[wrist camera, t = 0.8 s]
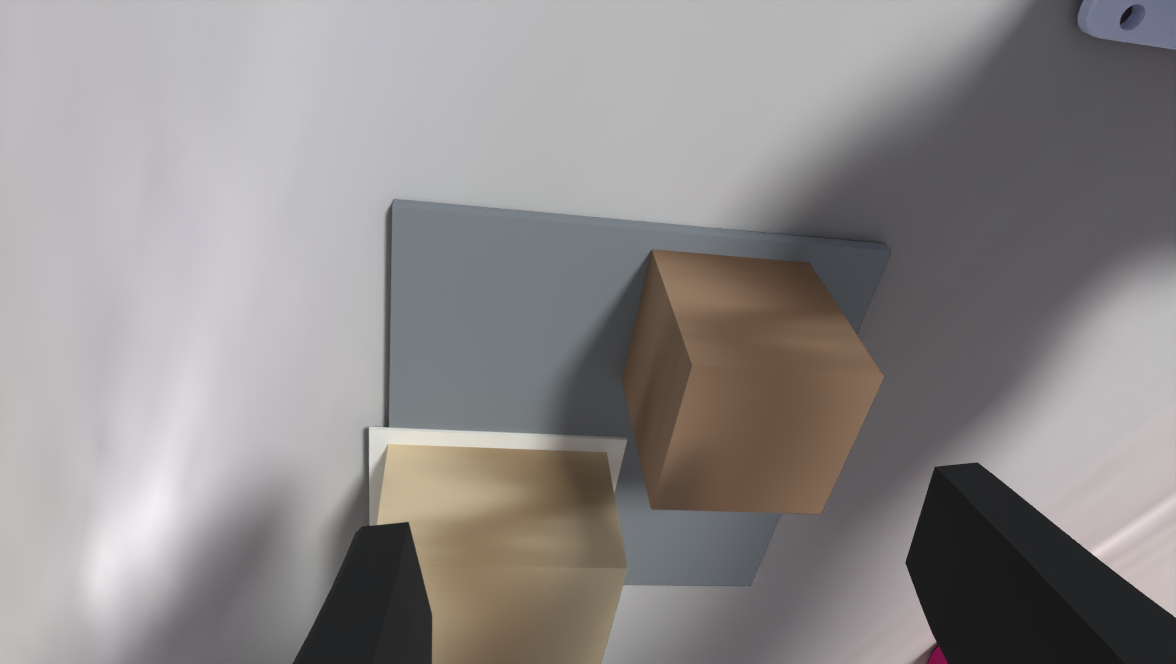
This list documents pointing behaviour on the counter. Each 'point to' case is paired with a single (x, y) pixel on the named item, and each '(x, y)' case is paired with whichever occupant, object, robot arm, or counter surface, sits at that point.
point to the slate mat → (566, 354)
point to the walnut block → (743, 384)
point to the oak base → (511, 550)
